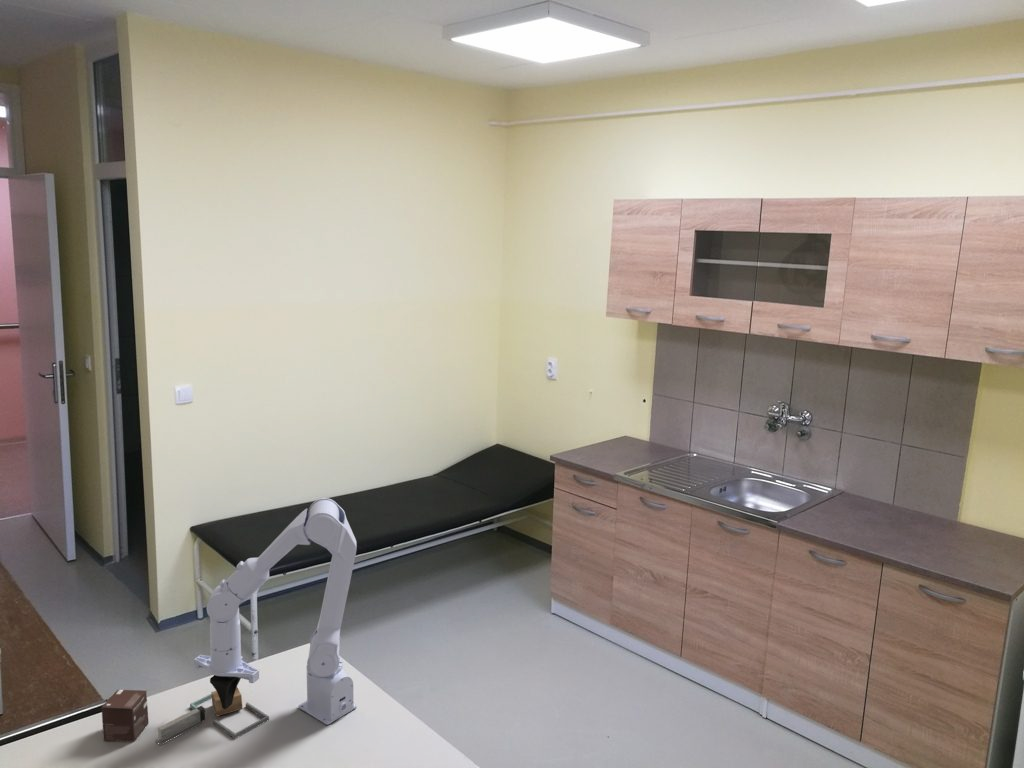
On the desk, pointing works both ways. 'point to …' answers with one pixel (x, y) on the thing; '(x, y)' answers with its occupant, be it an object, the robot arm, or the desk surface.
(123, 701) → the box
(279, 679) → the desk surface
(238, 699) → the plug
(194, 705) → the frame
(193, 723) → the bar
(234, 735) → the socket
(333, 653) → the robot arm
